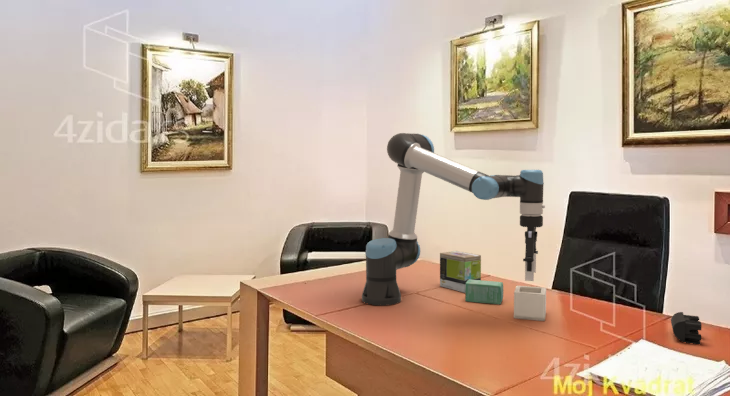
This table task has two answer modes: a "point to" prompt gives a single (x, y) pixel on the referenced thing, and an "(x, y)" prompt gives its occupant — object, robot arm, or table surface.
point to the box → (484, 291)
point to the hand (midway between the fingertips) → (530, 276)
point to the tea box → (459, 269)
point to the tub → (530, 303)
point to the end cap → (686, 328)
